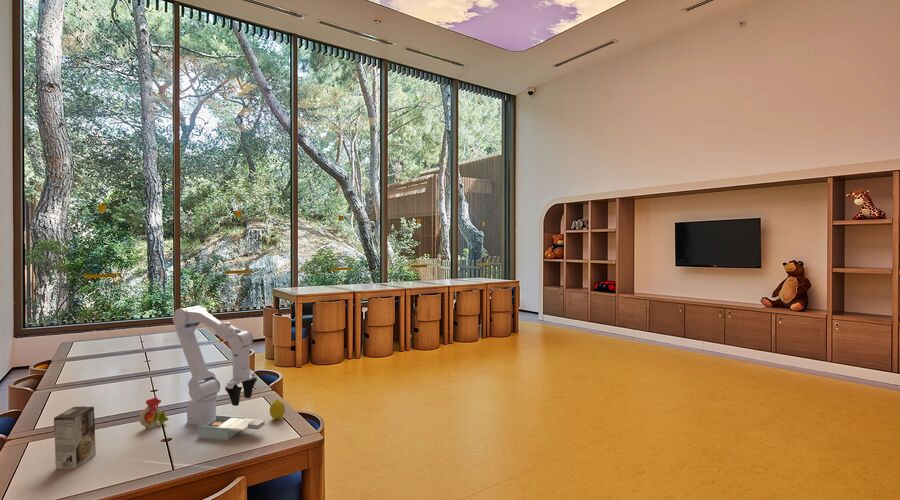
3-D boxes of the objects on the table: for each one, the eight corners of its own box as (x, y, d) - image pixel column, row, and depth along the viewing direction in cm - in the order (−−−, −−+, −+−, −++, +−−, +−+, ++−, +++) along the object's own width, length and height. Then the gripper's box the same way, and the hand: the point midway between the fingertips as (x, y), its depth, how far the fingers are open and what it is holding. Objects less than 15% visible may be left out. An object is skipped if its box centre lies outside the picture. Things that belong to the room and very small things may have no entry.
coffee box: (75, 455, 153) (73, 406, 152) (96, 454, 154) (95, 405, 153) (54, 469, 144) (52, 417, 143) (76, 469, 144) (75, 416, 144)
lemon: (280, 423, 179) (279, 402, 179) (266, 422, 180) (266, 401, 180) (287, 417, 184) (287, 397, 184) (274, 416, 185) (274, 396, 185)
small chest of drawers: (216, 429, 165) (216, 424, 165) (231, 419, 173) (231, 415, 173) (254, 432, 163) (254, 427, 163) (267, 422, 171) (267, 417, 171)
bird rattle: (154, 435, 173) (174, 417, 180) (141, 412, 168) (162, 394, 176) (142, 433, 175) (162, 415, 182) (129, 410, 170) (150, 392, 178)
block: (211, 431, 170) (211, 425, 170) (215, 428, 173) (215, 421, 173) (219, 431, 170) (219, 425, 170) (223, 428, 173) (223, 421, 173)
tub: (198, 439, 165) (198, 426, 165) (216, 427, 175) (216, 415, 175) (227, 441, 164) (227, 428, 163) (244, 429, 173) (244, 417, 173)
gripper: (239, 371, 166) (240, 409, 166) (262, 360, 180) (262, 395, 181) (221, 370, 167) (221, 408, 168) (245, 359, 181) (245, 394, 182)
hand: (241, 401), depth 174 cm, fingers open, 7 cm apart
